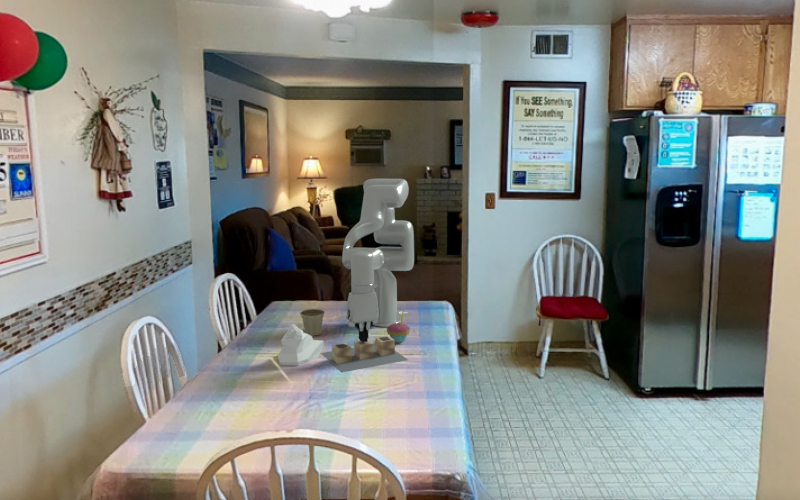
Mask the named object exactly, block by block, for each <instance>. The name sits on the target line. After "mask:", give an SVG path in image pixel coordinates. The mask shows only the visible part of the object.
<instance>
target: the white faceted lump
mask: <svg viewBox="0 0 800 500" xmlns="http://www.w3.org/2000/svg"><path fill="white" fill-rule="evenodd" d="M280 342H281V343H282V344H281V345H282V347H281V349H280V351H279V352H278V353H277V359H278V362H279V365H280V366H302V365H305V364H308V363H310V362H313V361H315V360H317V359H318V358H319V356H320V354H321V353H322V350H323V348H324V346H325V342H324V340H322V339H321V340H319V339H313V336H310V335H309V334H306V333H305V332H304V331H303V330H302V329H300V328H299V327H298V326H297V325H296V323H295V324H293V323H291V324H290V325H289V326H288V329H287V331H286V332H285V334H284V335H283V337H282V338H281V340H280Z"/></svg>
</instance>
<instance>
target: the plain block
mask: <svg viewBox="0 0 800 500" xmlns="http://www.w3.org/2000/svg"><path fill="white" fill-rule="evenodd" d="M353 343H354V344H353V348H354V355H355V356H356V357H357V358H358V359H359V360H363V359H368V358H374V347H373V344H374V342H372V341H370V340H369V339H368V342H361V341H360V340H356V341H354V342H353Z"/></svg>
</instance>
